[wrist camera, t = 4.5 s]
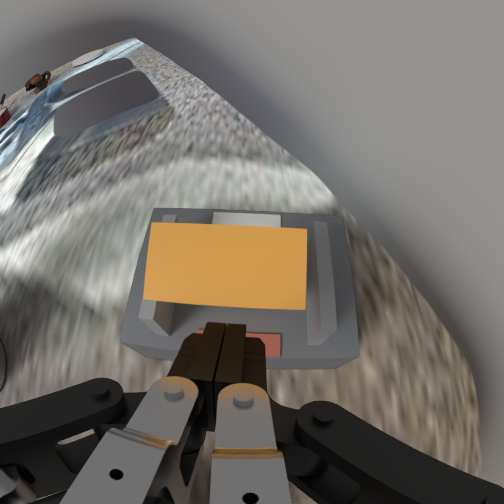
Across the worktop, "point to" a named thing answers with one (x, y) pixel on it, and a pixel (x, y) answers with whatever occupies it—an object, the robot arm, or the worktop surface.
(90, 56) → the plastic lid
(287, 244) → the lever
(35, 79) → the brown arched piece
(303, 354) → the switch box
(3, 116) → the frying pan
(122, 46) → the worktop surface
